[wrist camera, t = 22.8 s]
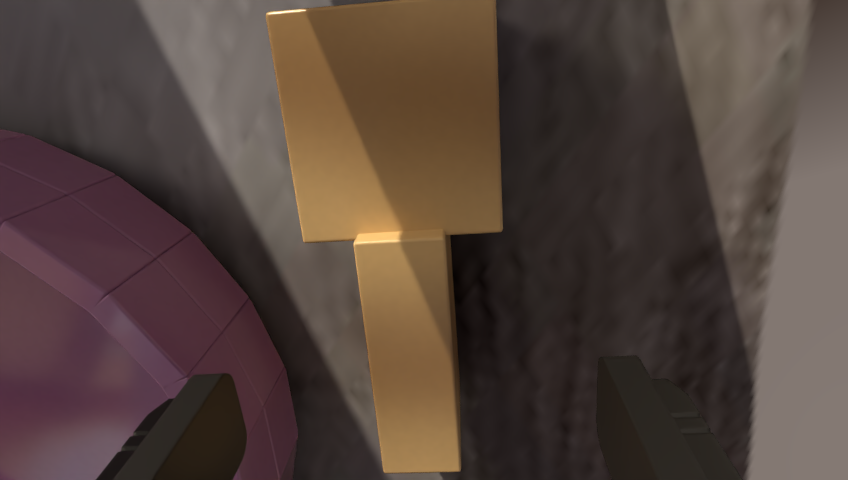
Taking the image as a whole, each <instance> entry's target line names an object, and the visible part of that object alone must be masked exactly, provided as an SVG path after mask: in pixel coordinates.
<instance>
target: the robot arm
mask: <svg viewBox="0 0 848 480" xmlns="http://www.w3.org/2000/svg"><path fill="white" fill-rule="evenodd" d="M596 423H597V432H598V438H599V443H600V447H601V450H602V453H603V456H604V458H605V461H606V464H607V467H608V470H609V473H610V475H611V478H612V480H742V478H741V477H740V475H739V474H738V472H737V470H736V469H735V467H734V466H733V464H732V463H731V461H730V460H729V458H728V456H727V455H726V453H725V452H724V450H723V449H722V447H721V445H720V444H719V442H718V441H717V439H716V438H715V436H714V435H713V433H710V428H709V427H708V425H707V424H706V422H705V421H704V419H703V417H700V413H699V411H698V410H697V408H696V407H695V405H694V403H693V402H692V400H691V399H690V397H689V396H688V394H687V393H685V392H684V391H683V390H681V389H680V388H679V387H677V386H676V385H675V384H673V383H672V382H670V381H669V380H668V379H651V378H650V376H649V374H648V373H647V371H646V369H645V367H644V366H643V364H642V362H641V360H640V359H639V357H638V356H614V357H600V358H599V361H598V377H597V409H596ZM246 445H247V430H246V426H245V422H244V418H243V414H242V410H241V406H240V402H239V398H238V394H237V390H236V386H235V382H234V379H233V377H232V376H231V375H230V374H229V373H217V374H195V375H193V376H192V377H191V378H190V379H189V380H188V381H187V383H186V384H185V385H184V387H183V388H182V389H181V391H180V392H179V393H178V394H177V396H176V397H175V398H171V399H168V400H166V401H165V402H164V403H162V404H161V405H160V406H158V407H157V408H156V409H154V410H153V411H152V412H150V413H149V414H148V415H147V416H146V417H145V418H144V420H143V421H142V422H141V423H140V425H139V426H138V427H137V428H136V430H135V431H134V432H133V436H130V437H129V439H128V440H127V441H126V442H125V444H124V445H123V446H122V447H121V452H117V454H116V455H115V456H114V457H113V459H112V460H111V461H110V462H109V464H108V465H107V466H106V467H105V469H104V470H103V471H102V472H101V474H100V475H99V476H98V477H97V479H96V480H233V478H234V476H235V474H236V472H237V470H238V468H239V466H240V464H241V462H242V460H243V458H244V455H245V451H246Z"/></svg>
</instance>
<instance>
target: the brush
mask: <svg viewBox="0 0 848 480" xmlns="http://www.w3.org/2000/svg"><path fill="white" fill-rule="evenodd" d="M266 21H267V27H268V33H269V39H270V45H271V51H272V57H273V63H274V69H275V75H276V81H277V87H278V93H279V99H280V105H281V111H282V117H283V123H284V129H285V135H286V141H287V147H288V153H289V159H290V165H291V171H292V177H293V183H294V189H295V195H296V201H297V207H298V213H299V219H300V225H301V231H302V237H303V241H304V243H317V242H335V241H353V240H355V241H354V244H353V246H354V253H355V261H356V268H357V276H358V283H359V291H360V299H361V306H362V314H363V321H364V329H365V336H366V344H367V351H368V359H369V366H370V374H371V382H372V389H373V397H374V404H375V412H376V419H377V427H378V434H379V442H380V449H381V457H382V465H383V471H384V473H432V472H460V471H461V411H460V376H459V361H458V346H457V331H456V316H455V301H454V285H453V270H452V255H451V240H450V235H461V234H479V233H497V232H501V231H502V230H503V214H502V181H501V148H500V116H499V83H498V50H497V17H496V0H393V1H382V2H371V3H360V4H349V5H338V6H327V7H316V8H304V9H293V10H282V11H271V12H268V13H266Z"/></svg>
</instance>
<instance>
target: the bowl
mask: <svg viewBox="0 0 848 480" xmlns="http://www.w3.org/2000/svg"><path fill="white" fill-rule="evenodd" d="M217 373H229V374H230V375H231V376H232V377H233V379H234V382H235V386H236V390H237V394H238V398H239V402H240V406H241V410H242V414H243V418H244V422H245V426H246V430H247V445H246V451H245V455H244V458H243V460H242V462H241V464H240V466H239V468H238V470H237V472H236V474H235V476H234V478H233V480H292V479H293V471H294V463H295V455H296V447H297V439H298V429H297V423H296V418H295V413H294V408H293V403H292V398H291V393H290V388H289V383H288V378H287V372H286V368H285V367H284V364H283V362H282V360H281V358H280V356H279V354H278V352H277V350H276V348H275V346H274V344H273V342H272V340H271V338H270V336H269V334H268V332H267V330H266V328H265V326H264V324H263V322H262V320H261V319H260V317H259V315H258V313H257V311H256V309H255V307H254V305H253V303H252V301H251V300H250V299H249V296H248V295H247V294H246V293H245V291H244V290H243V289H242V288H241V287H240V286H239V284H238V283H237V282H236V281H235V280H234V279H233V277H232V276H231V275H230V274H229V273H228V272H227V271H226V269H225V268H224V267H223V266H222V265H221V264H220V262H219V261H218V260H217V259H216V258H215V257H214V255H213V254H212V253H211V252H210V251H209V250H208V248H207V247H206V246H205V245H204V244H203V243H202V241H201V240H200V239H199V238H198V237H197V236H196V234H195V233H191V230H190V229H189V228H188V227H186V226H185V225H184V224H182V223H181V222H180V221H178V220H177V219H176V218H174V217H173V216H172V215H170V214H169V213H168V212H166V211H165V210H164V209H162V208H161V207H159V206H158V205H157V204H155V203H154V202H153V201H151V200H150V199H149V198H147V197H146V196H145V195H143V194H142V193H141V192H139V191H138V190H137V189H135V188H134V187H133V186H131V185H130V184H129V183H127V182H126V181H125V180H123V179H122V178H121V177H119V176H116V174H115V173H113V172H110V171H108V170H106V169H104V168H101V167H99V166H97V165H95V164H93V163H90V162H88V161H86V160H84V159H81V158H79V157H77V156H75V155H73V154H70V153H68V152H66V151H64V150H61V149H59V148H57V147H55V146H53V145H50V144H48V143H46V142H44V141H41V140H39V139H37V138H35V137H33V136H30V135H26V134H23V133H18V132H12V131H7V130H2V129H0V480H96V479H97V477H98V476H99V475H100V474H101V472H102V471H103V470H104V469H105V467H106V466H107V465H108V464H109V462H110V461H111V460H112V459H113V457H114V456H115V455H116V454H117V452H121V447H122V446H123V445H124V444H125V442H126V441H127V440H128V439H129V437H130V436H133V432H134V431H135V430H136V428H137V427H138V426H139V425H140V423H141V422H142V421H143V420H144V418H145V417H146V416H147V415H148V414H149V413H150V412H152V411H153V410H154V409H156V408H157V407H158V406H160V405H161V404H162V403H164V402H165V401H166V400H168V399H171V398H175V397H176V396H177V394H178V393H179V392H180V391H181V389H182V388H183V387H184V385H185V384H186V383H187V381H188V380H189V379H190V378H191V377H192V376H193V375H195V374H217Z"/></svg>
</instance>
